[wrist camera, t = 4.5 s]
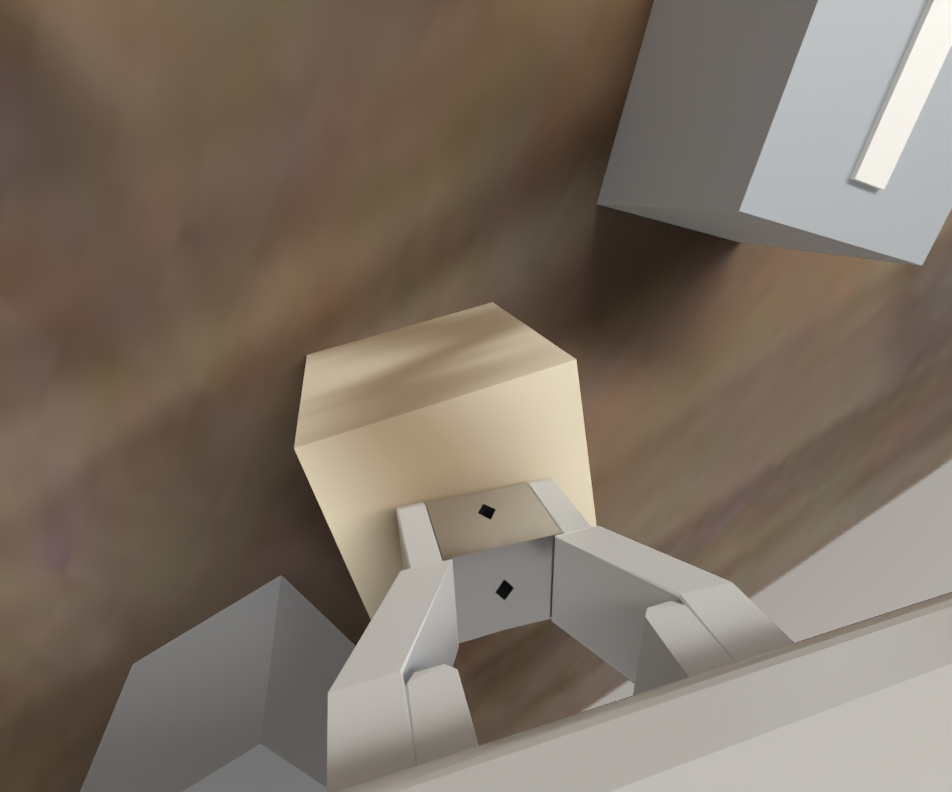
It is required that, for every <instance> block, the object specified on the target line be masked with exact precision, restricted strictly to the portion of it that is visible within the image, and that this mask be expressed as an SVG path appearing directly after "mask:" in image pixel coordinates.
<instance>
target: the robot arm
mask: <svg viewBox="0 0 952 792" xmlns="http://www.w3.org/2000/svg"><path fill="white" fill-rule="evenodd" d="M396 514H397V522H398V531H399V539H400V547H401V555H402V563H403V570H402V571H400V572H399V574H398V575H397V577H396V579H395V580H394V582H393V584H392V585H391V587H390V589H389V591H388V592H387V594H386V596H385V597H384V599H383V601H382V602H381V604H380V606H379V607H378V609H377V611H376V613H375V614H374V616H373V618H372V619H371V621H370V623H369V624H368V626H367V628H366V629H365V631H364V633H363V635H362V636H361V638H360V640H359V641H358V643H357V645H356V646H355V648H354V650H353V651H352V653H351V655H350V657H349V658H348V660H347V662H346V663H345V665H344V667H343V668H342V670H341V672H340V673H339V675H338V677H337V679H336V680H335V682H334V684H333V685H332V687H331V689H330V690H329V692H328V725H327V792H952V592H950V593H947V594H944V595H941V596H938V597H935V598H931V599H928V600H925V601H922V602H919V603H916V604H913V605H910V606H907V607H904V608H901V609H897V610H894V611H891V612H888V613H885V614H882V615H879V616H876V617H873V618H870V619H867V620H864V621H861V622H857V623H854V624H851V625H848V626H845V627H842V628H839V629H836V630H833V631H830V632H827V633H824V634H820V635H818V636H814V637H811V638H808V639H805V640H802V641H799V642H796V643H794V642H793V641H792V640H791V639H790V638H788V636H787V635H786V634H784V632H783V631H781V629H780V628H778V627H777V626H776V625H775V624H774V623H773V622H772V621H771V620H770V619H769V618H768V617H767V616H766V615H765V614H764V613H763V612H762V611H761V610H760V609H759V608H758V607H757V606H756V605H755V604H754V603H753V602H752V601H751V600H750V599H749V598H748V597H747V596H746V595H745V594H744V593H743V592H742V591H741V590H740V589H739V588H737V587H736V586H735V585H734V584H733V583H732V582H730V581H728V580H726V579H723V578H721V577H719V576H716V575H714V574H711V573H709V572H707V571H704V570H702V569H700V568H697V567H695V566H693V565H690V564H688V563H685V562H683V561H681V560H678V559H676V558H674V557H671V556H669V555H667V554H664V553H662V552H659V551H657V550H655V549H652V548H650V547H648V546H645V545H643V544H641V543H638V542H636V541H633V540H631V539H629V538H626V537H624V536H622V535H619V534H617V533H615V532H612V531H610V530H607V529H605V528H603V527H600V526H596V527H591V526H590V525H589V524H588V522H587V521H586V520H585V519H584V517H583V516H582V515H581V514H580V512H579V511H578V510H577V509H576V507H575V506H574V505H573V503H572V502H571V501H570V500H569V498H568V497H567V496H566V495H565V493H564V492H563V491H562V490H561V488H560V487H559V486H558V485H557V483H556V482H555V481H554V479H552V478H550V477H547V478H543V479H538V480H534V481H530V482H525V483H524V484H520V485H515V486H510V487H505V488H500V489H495V490H490V491H485V492H481V493H472V494H467V495H461V496H455V497H449V498H444V499H438V500H432V501H426V502H424V503H423V502H421V503H416V504H411V505H405V506H400V507H396ZM548 619H552V620H551V621H552V622H553V623H555V624H556V625H557V626H559V627H560V628H561V629H563V630H564V631H565V632H567V633H568V634H569V635H570V636H572V637H573V638H574V639H576V640H577V641H578V642H580V643H581V644H582V645H584V646H585V647H586V648H588V649H589V650H590V651H592V652H593V653H594V654H596V655H597V656H598V657H600V658H601V659H602V660H603V661H605V662H606V663H607V664H609V665H610V666H611V667H613V668H614V669H615V670H617V671H618V672H619V673H621V674H622V675H623V676H625V677H626V678H627V679H629V680H630V681H631V682H632V683H634V684H635V686H634V694H633V696H630V697H627V698H624V699H621V700H618V701H615V702H612V703H609V704H606V705H603V706H599V707H596V708H593V709H590V710H587V711H584V712H581V713H578V714H575V715H572V716H569V717H565V718H562V719H559V720H556V721H553V722H550V723H547V724H544V725H541V726H538V727H535V728H532V729H528V730H525V731H522V732H519V733H516V734H513V735H510V736H507V737H504V738H501V739H498V740H495V741H491V742H488V743H485V744H482V745H478V741H477V737H476V734H475V730H474V727H473V723H472V719H471V716H470V712H469V709H468V705H467V701H466V698H465V694H464V691H463V687H462V684H461V680H460V676H459V673H458V669H455V668H453V665H454V662H455V658H456V655H457V652H458V648H459V643H463V642H466V641H469V640H472V639H476V638H479V637H482V636H486V635H489V634H492V633H496V632H499V631H502V630H506V629H510V628H514V627H519V626H523V625H527V624H531V623H535V622H539V621H544V620H548Z"/></svg>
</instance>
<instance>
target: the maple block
mask: <svg viewBox="0 0 952 792" xmlns="http://www.w3.org/2000/svg"><path fill="white" fill-rule="evenodd" d="M294 450H295V452H296V454H297V456H298V459H299V461H300V463H301V465H302V467H303V470H304V472H305V474H306V476H307V479H308V481H309V483H310V485H311V488H312V490H313V492H314V494H315V496H316V499H317V501H318V503H319V505H320V508H321V510H322V512H323V514H324V517H325V519H326V521H327V523H328V526H329V528H330V530H331V532H332V534H333V537H334V539H335V541H336V543H337V546H338V548H339V550H340V552H341V555H342V557H343V559H344V561H345V564H346V566H347V568H348V570H349V572H350V575H351V577H352V579H353V581H354V584H355V586H356V588H357V590H358V593H359V595H360V597H361V599H362V601H363V604H364V606H365V608H366V610H367V613H368V615H369V617H370V619H372V618H373V616H374V614H375V613H376V611H377V609H378V607H379V606H380V604H381V602H382V601H383V599H384V597H385V596H386V594H387V592H388V591H389V589H390V587H391V585H392V584H393V582H394V580H395V579H396V577H397V575H398V574H399V572H400V571H402V570H403V563H402V555H401V547H400V539H399V531H398V522H397V514H396V507H400V506H405V505H411V504H416V503H421V502H423V503H424V502H426V501H432V500H438V499H444V498H449V497H455V496H461V495H467V494H472V493H481V492H485V491H490V490H495V489H500V488H505V487H510V486H515V485H520V484H524V483H525V482H530V481H534V480H538V479H543V478H547V477H550V478H552V479H554V481H555V482H556V483H557V485H558V486H559V487H560V488H561V490H562V491H563V492H564V493H565V495H566V496H567V497H568V498H569V500H570V501H571V502H572V503H573V505H574V506H575V507H576V509H577V510H578V511H579V512H580V514H581V515H582V516H583V517H584V519H585V520H586V521H587V522H588V524H589V525H590V526H591V527H596V517H595V509H594V501H593V493H592V484H591V476H590V468H589V460H588V451H587V443H586V435H585V427H584V418H583V410H582V402H581V394H580V385H579V377H578V369H577V361H576V359H575V358H574V357H572V356H571V355H569V354H568V353H566V352H565V351H563V350H562V349H560V348H559V347H557V346H556V345H555V344H553V343H552V342H550V341H549V340H547V339H546V338H544V337H543V336H541V335H540V334H538V333H537V332H536V331H534V330H533V329H531V328H530V327H528V326H527V325H525V324H524V323H522V322H521V321H519V320H518V319H517V318H515V317H514V316H512V315H511V314H509V313H508V312H506V311H505V310H503V309H502V308H500V307H499V306H498V305H496V304H495V303H493V302H491V303H488V304H484V305H481V306H477V307H474V308H470V309H467V310H463V311H460V312H456V313H453V314H449V315H446V316H442V317H439V318H435V319H432V320H428V321H425V322H421V323H418V324H414V325H411V326H407V327H404V328H400V329H397V330H393V331H390V332H386V333H383V334H379V335H376V336H372V337H369V338H365V339H362V340H358V341H354V342H351V343H347V344H344V345H340V346H337V347H333V348H330V349H326V350H323V351H319V352H316V353H312V354H309V355H307V358H306V365H305V372H304V380H303V387H302V394H301V401H300V409H299V416H298V423H297V430H296V437H295V445H294Z"/></svg>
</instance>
